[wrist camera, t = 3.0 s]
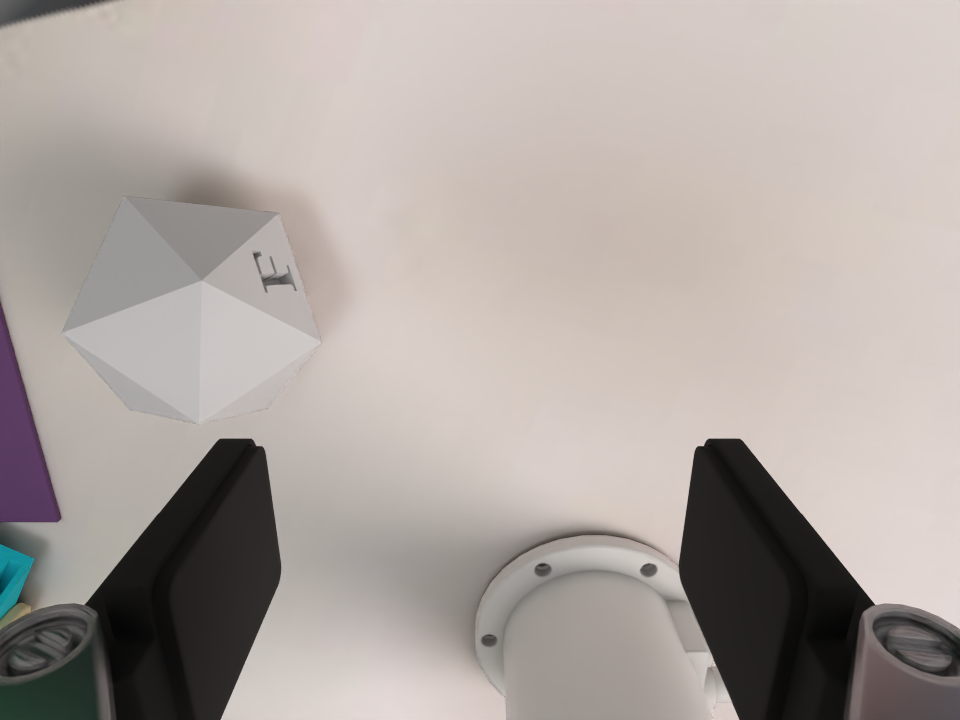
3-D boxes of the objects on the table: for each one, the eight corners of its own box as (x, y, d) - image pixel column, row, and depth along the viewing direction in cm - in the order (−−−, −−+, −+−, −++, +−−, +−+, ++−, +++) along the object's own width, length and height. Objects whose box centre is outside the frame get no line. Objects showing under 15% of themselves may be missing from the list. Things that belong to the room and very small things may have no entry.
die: (325, 393, 31) (372, 365, 22) (126, 456, 28) (86, 454, 18) (271, 230, 31) (296, 136, 22) (66, 270, 28) (-4, 178, 19)
